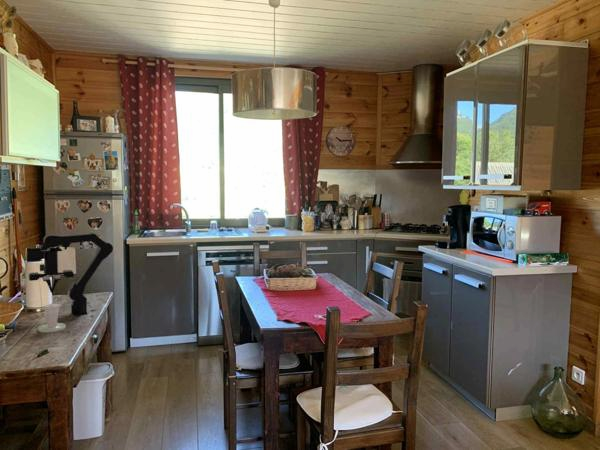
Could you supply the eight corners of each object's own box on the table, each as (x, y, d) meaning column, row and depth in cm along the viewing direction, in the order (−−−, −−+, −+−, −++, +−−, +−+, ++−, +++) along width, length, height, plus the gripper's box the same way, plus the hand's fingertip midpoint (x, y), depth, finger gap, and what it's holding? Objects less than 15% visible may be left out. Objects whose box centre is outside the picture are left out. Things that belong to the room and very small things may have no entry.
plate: (63, 323, 217) (63, 321, 217) (67, 330, 208) (67, 328, 208) (36, 327, 211) (36, 325, 211) (39, 334, 202) (39, 332, 202)
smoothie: (53, 329, 206) (52, 298, 205) (40, 328, 207) (39, 297, 206) (63, 325, 212) (62, 294, 211) (50, 323, 214) (50, 293, 212)
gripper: (70, 256, 236) (70, 287, 238) (27, 259, 226) (28, 291, 227) (73, 260, 227) (74, 291, 228) (29, 263, 217) (30, 296, 218)
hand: (51, 292), depth 226 cm, fingers closed
